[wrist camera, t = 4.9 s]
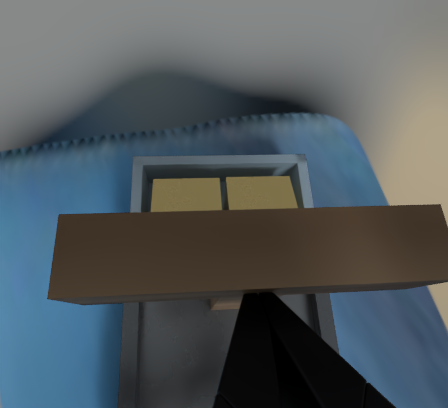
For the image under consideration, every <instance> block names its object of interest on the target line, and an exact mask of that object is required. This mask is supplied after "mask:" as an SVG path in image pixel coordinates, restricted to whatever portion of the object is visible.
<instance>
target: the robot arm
mask: <svg viewBox="0 0 448 408" xmlns="http://www.w3.org/2000/svg"><path fill="white" fill-rule="evenodd" d="M366 383H367V381H366V379H365V378H364V377H362V376H361V375H360V374H359V373H358V372H357V371H356V370H355V369H354V368H353V367H352V366H351V365H350V364H349V363H348V362H347V361H346V360H344V359H343V358H342V357H341V356H340V355H339V354H338V353H337V352H336V351H335V350H334V349H333V348H332V347H331V346H330V345H329V344H327V343H326V342H325V341H324V340H323V339H322V338H321V337H320V336H319V335H318V334H317V333H316V332H315V331H314V330H313V329H312V328H311V327H309V326H308V325H307V324H306V323H305V322H304V321H303V320H302V319H301V318H300V317H299V316H298V315H297V314H296V313H295V312H294V311H292V310H291V309H290V308H289V307H288V306H287V305H286V304H285V303H284V302H283V301H282V300H281V299H280V298H279V297H278V296H277V295H276V294H274V293H273V292H265V293H259V294H257V293H245V294H243V297H242V300H241V304H240V308H239V311H238V315H237V319H236V322H235V326H234V330H233V334H232V337H231V341H230V345H229V348H228V352H227V356H226V360H225V363H224V367H223V371H222V374H221V378H220V382H219V385H218V389H217V394H216V396H215V400H214V403H213V407H212V408H396V407H395V406H394V405H393V404H392V403H391V402H389V401H388V400H387V399H386V398H385V397H384V396H383V395H382V394H381V393H380V392H379V391H378V390H376V389H375V388H374V387H373V386H372V385H371V384H370V383H367V384H366Z"/></svg>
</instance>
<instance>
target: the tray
mask: <svg viewBox="0 0 448 408" xmlns="http://www.w3.org/2000/svg"><path fill="white" fill-rule="evenodd" d="M260 176H290V180H291V184H292V187H293V191H294V195H295V198H296V202H297V206H298V208H314V206H313V200H312V194H311V188H310V181H309V175H308V169H307V163H306V157H305V154H297V155H212V156H133V170H132V188H131V207H130V213H132V212H151V201H152V189H153V179H182V178H219V179H220V191H221V203H222V210H224V194H225V182H226V177H260Z"/></svg>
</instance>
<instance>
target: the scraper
mask: <svg viewBox="0 0 448 408" xmlns="http://www.w3.org/2000/svg"><path fill="white" fill-rule="evenodd" d="M444 282H448V227H447V224H446V221H445V218H444V214H443V211H442V208H441V205H440V204H439V205H400V206H399V205H398V206H360V207H322V208H284V209H246V210H208V211H170V212H132V213H94V214H59V217H58V224H57V232H56V239H55V246H54V254H53V261H52V268H51V276H50V283H49V290H48V298H47V299H51V300H57V301H63V302H68V303H74V304H80V305H96V304H116V303H136V302H156V301H176V300H197V299H210V307H211V310H226V309H239V308H240V304H241V300H242V297H243V294H245V293H257V294H259V293H265V292H273V293H274V294H276V295H277V296H278V297H280V296H283V295H297V294H317V293H337V292H358V291H378V290H398V289H409V288H415V287H421V286H427V285H432V284H438V283H444Z"/></svg>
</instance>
